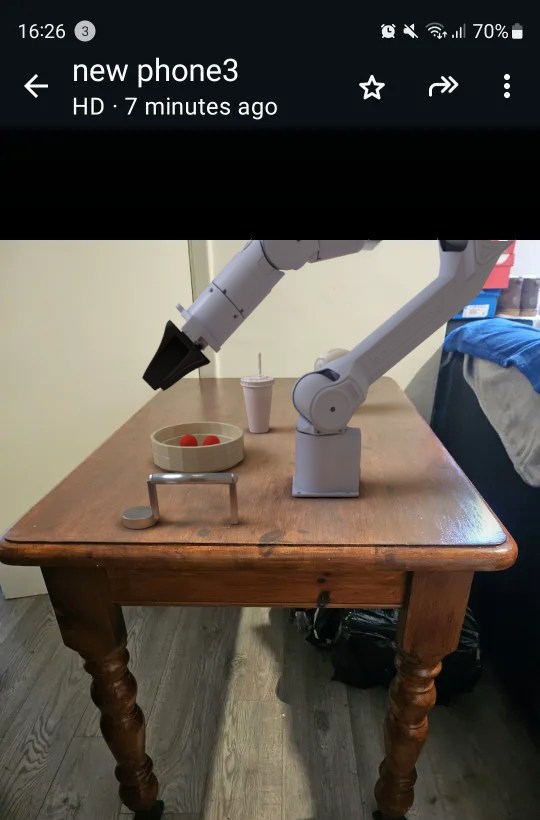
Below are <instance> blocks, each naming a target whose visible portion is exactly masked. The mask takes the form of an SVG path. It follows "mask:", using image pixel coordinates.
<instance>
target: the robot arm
mask: <svg viewBox="0 0 540 820" xmlns="http://www.w3.org/2000/svg"><path fill="white" fill-rule="evenodd" d="M367 242H368V240H251V239H250V240H248V241H247V242H246V244H245V245H244V246H243V248H242V249H241V251H238V252H236V254H235V255H234V256H233V257H232V258H231V259H230V260H229V261H228V262H227V264H226V265H225V266H224V267H223V268H222V269H221V271H220V272H219V273H218V274H217V275H216V276H215V277H214V278H213V280H212V281H211V282H210V283H209V285H207V287H206V288H205V289H204V290H203V291H202V292H201V293H200V294H199V296H197V298H196V299H195V300H193V301H194V302H192V303H191V305H190V306H188V308H187V309H185V308H184V306H182V304H181V303H180V302H179V303H177V304H176V306H175V309H176V310H177V311H178V312H179V313H180V316H181V317H182V318H183V319H184V320H185V321H186V322H185V323H184V324H183V325H182V326H181V327H180V328H179V327H178V326H177V325H176V324H175V323H174V322H173V321H172V320H171V319H169V320H167V322H166V324H165V326H164V329H163V330H164V331H163V334H162V338H161V340H160V343H159V344H158V345H159V346H158V348H157V349H156V351H155V354H154V355H153V357H152V359H151V360H150V362H149V363H148V365H147V367H146V369H145V370H144V372H143V375H142V376H141V379H142V380H143V381H144V382H145V383H146V384H147V385H148V386H149V387H150V388H151V389H152V390H153V391H155V392H156V391H157V390H159V389H161V390H162V391H163V392H164V391H167V390H168V389H170V388H171V387H173V386H175V385H176V383H178V382H179V381H180V380H182V379H183V378H184V377H186V376H187V375H189V374H190V373H192V372H193V371H195V370H198V369H200V368H202V367H205V366H207V365H210V363H211V360H210V359H209V357H207V356H206V354H204V353H203V352H205V350H206V349H207V348H208V346H209V347H210V348H211V349H212V350H213V351H214V353H216V354H219V352H220V351H221V349H222V348H221V347H222V346H223V345H224V344H225V342H227V341H228V340H229V338H230V337H231V336H232V335H233V334H234V333H235V332H236V331H237V330H238V328H239V327H240V326H241V325H242V324H243V323H244V322H245V321H246V320H247V319H248V317H249V316H250V315H251V314H252V313H253V312H254V311H255V310H256V308H258V306H259V305H260V304H261V303H262V302H263V301H264V300H265V299H266V298H267V296H268V295H269V294H270V293H271V292H272V290H273V288H274V287H275V286H276V285H277V284H278V283H279V282H280V281H281V280H282V279H283V278H284V276H285V275H286V272H285V271H291V270H293V271H298V270H300V269H301V268H303V267H304V266H305V265H306V263H309V264H315V263H318V262H319V263H320V262H323V261H328V260H331V259H336V258H340V257H345V256H348V255H349V256H350V255H353V254H358V253H360V252H361V251H362V249H363V248H364V247H365V245H366V243H367ZM514 243H515V241H491V240H438V239H437V244H438V253H439V254H438V255H439V262H440V263H439V270H438V275H437V277H436V278H435V279H434V280H432V281H431V282H430V283H429V284H428V285H426V286H425V287H424V288H423V289H421V290H420V291H419V292H418V293H416V295H415V296H413V297H412V298H411V299H410V300H408V302H406V303H405V304H404V305H403V306H402V307H400V309H398V310H397V311H396V312H395V313H393V314H392V315H391V316H390V317H389V318H388V319H386V320H385V321H384V322H383V323H382V324H380V325H379V326H378V327H376V329H375V330H373V331H372V332H371V333H370V334H369V335H366V337H365V338H363V340H361V342H359V343H358V344H356V345H355V347H353V348H352V349H351V350H349V351H350V352H349V353H347V354H346V355H345V356H343V357H341V358H338V359H336V360H333V361H331V362H328V363H327V364H326V365H324V366H323V367H322V368H321V369H319V370H316V371H314V370H313V371H308V372H306V373H304V374H303V375H301V376H300V377H298V379H297V380H296V381H295V383H294V385H293V387H292V390H291V401H292V402H291V403H292V405H293V407H294V409H295V410H296V412H297V413H298V417H297V420H296V422H295V440H294V441H295V442H294V443H295V444H294V445H295V446H294V447H295V448H294V449H295V455H294V457H295V459H294V461H295V462H294V463H295V465H294V468H295V469H294V472H295V474H293V475H292V488H291V489H292V490H291V495H292V497H293V498H294V497H295V498H310V497H311V498H318V497H319V498H325V497H326V498H332V497H333V498H355V497H359V495H360V492H359V491H360V489H359V488H360V479H361V473H362V471H361V469H362V468H361V459H362V458H361V457H362V430H361V428H360V427H352V426H348V424H349V423H350V421H351V420H352V417H353V416H354V413H355V412H356V410H357V409H358V408H359V407H360V406H361V405H362V404H364V403H365V402H366V400H367V397H368V392H369V389H370V387H371V386H372V385H373V384H374V383H376V382H377V381H378V380H379V379H380V378H381V377H383V376H384V375H385V374H386V373H387V372H389V371H390V370H391V369H392V368H394V367H395V366H396V365H397V364H398V363H400V362H401V361H402V360H403V359H404V358H406V357H407V356H408V355H410V353H412V352H414V350H415V349H417V347H419V346H420V345H421V344H422V343H424V342H425V341H426V340H427V339H428V338H429V337H431V336H432V335H433V334H435V333H436V332H437V331H438V330H440V328H442V327H443V326H444V325H445V324H447V323H448V322H450V320H451V319H452V318H454V317H455V316H456V315H457V314H458V313H460V312H461V311H462V310H463V309H465V308H466V307H467V306H468V305H470V304H471V303H472V302H473V301H474V300H476V298H477V297H478V296H479V295H480V293H481V291H482V290H483V288H484V287H485V285H486V283H487V282H488V279H489V277H490V276H491V274H492V272H493V270H494V269H495V266H496V265H497V263H498V262H499V259H500V258H501V256H502V255H503V253H505V252H506V251H507V250H508V249H509V248H510V247H511V246H512V245H513V244H514Z"/></svg>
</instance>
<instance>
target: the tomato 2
mask: <svg viewBox="0 0 540 820" xmlns="http://www.w3.org/2000/svg"><path fill="white" fill-rule="evenodd" d="M215 444H220V440H219V439H218V438H217V437H216V436H213V435H210V436H207V437H206V438H205V439H204V441H203V446H208V445H215Z"/></svg>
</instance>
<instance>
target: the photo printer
mask: <svg viewBox="0 0 540 820" xmlns="http://www.w3.org/2000/svg"><path fill="white" fill-rule="evenodd" d="M350 351H351V350H349V349H346V348H339V347H334V348H330V349H328V350H326V351H324V352H323V353H321V354H320V355H318V356H317V358H316V359H315V361H314V365H313V366H314V367H313V371H316V370H319V369H321V368H322V367H323V366H324V365H326V364H327V363H328V362H331V361H333V360H336V359H338V358H341V357H343V356H345V355H346V354H347V353H349V352H350Z"/></svg>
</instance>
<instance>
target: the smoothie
mask: <svg viewBox="0 0 540 820" xmlns="http://www.w3.org/2000/svg"><path fill="white" fill-rule="evenodd" d="M257 372H258V373H257V374H256V375H255V374H254V375H246V376H243V377H241V378H240V385H241V386H242V389H243V390H242V391H243V399H244V404H245V411H246V417H247V424H248V429H249V432H250V433H254V434H264V433H268V432H269V428H270V418H271V409H272V400H273V399H272V398H273V389H274V385H275V383H276V382H275V377H274V376H272V375H266V374H264V375H263V374H262V353H261V352H258V353H257Z"/></svg>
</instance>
